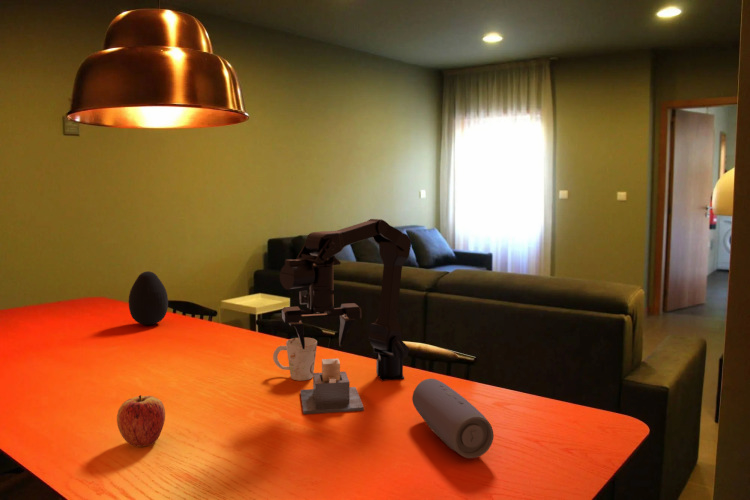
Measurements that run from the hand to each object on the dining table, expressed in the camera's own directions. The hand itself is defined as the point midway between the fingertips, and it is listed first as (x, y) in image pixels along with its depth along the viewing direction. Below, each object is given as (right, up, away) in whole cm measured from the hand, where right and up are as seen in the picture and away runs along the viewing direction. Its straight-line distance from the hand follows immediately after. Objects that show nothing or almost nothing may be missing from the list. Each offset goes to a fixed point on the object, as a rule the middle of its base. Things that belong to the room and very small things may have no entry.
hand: (322, 347), depth 143 cm
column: (+2, -12, -1) cm, 12 cm away
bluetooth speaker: (+28, -16, -22) cm, 39 cm away
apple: (-34, -16, -25) cm, 45 cm away
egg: (-71, -4, +75) cm, 103 cm away
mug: (-9, -11, +17) cm, 22 cm away
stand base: (+2, -13, -1) cm, 13 cm away
